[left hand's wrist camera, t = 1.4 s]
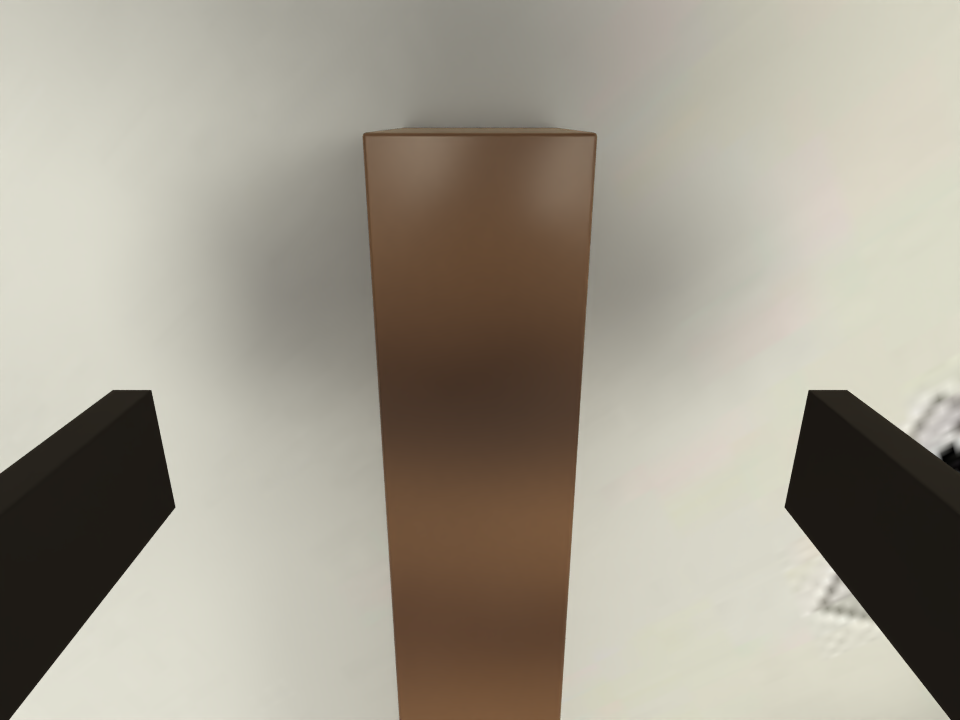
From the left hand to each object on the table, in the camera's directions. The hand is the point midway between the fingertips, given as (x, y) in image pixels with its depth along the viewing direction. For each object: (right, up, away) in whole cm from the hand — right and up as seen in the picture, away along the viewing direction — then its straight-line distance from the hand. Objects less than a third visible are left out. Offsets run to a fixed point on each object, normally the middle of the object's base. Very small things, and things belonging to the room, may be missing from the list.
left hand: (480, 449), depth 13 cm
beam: (0, -13, +19) cm, 23 cm away
